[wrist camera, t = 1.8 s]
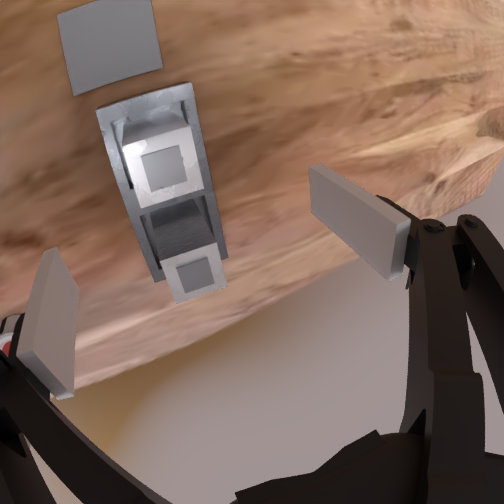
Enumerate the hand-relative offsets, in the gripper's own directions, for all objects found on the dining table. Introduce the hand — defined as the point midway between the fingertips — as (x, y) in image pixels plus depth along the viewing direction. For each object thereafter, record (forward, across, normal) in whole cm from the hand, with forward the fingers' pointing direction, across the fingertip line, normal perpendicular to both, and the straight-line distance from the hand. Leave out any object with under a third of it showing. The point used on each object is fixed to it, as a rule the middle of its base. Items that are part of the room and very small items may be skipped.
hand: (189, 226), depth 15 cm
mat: (+19, -2, +12) cm, 23 cm away
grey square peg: (+19, 0, 0) cm, 19 cm away
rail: (+20, 0, -5) cm, 20 cm away
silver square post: (+19, 0, -10) cm, 21 cm away
